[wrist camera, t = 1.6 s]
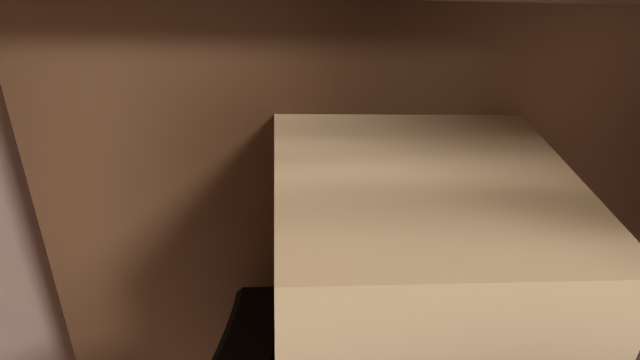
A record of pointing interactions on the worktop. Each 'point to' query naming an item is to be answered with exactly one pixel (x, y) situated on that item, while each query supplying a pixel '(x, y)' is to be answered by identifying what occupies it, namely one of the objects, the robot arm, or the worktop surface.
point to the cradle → (269, 129)
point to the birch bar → (443, 244)
